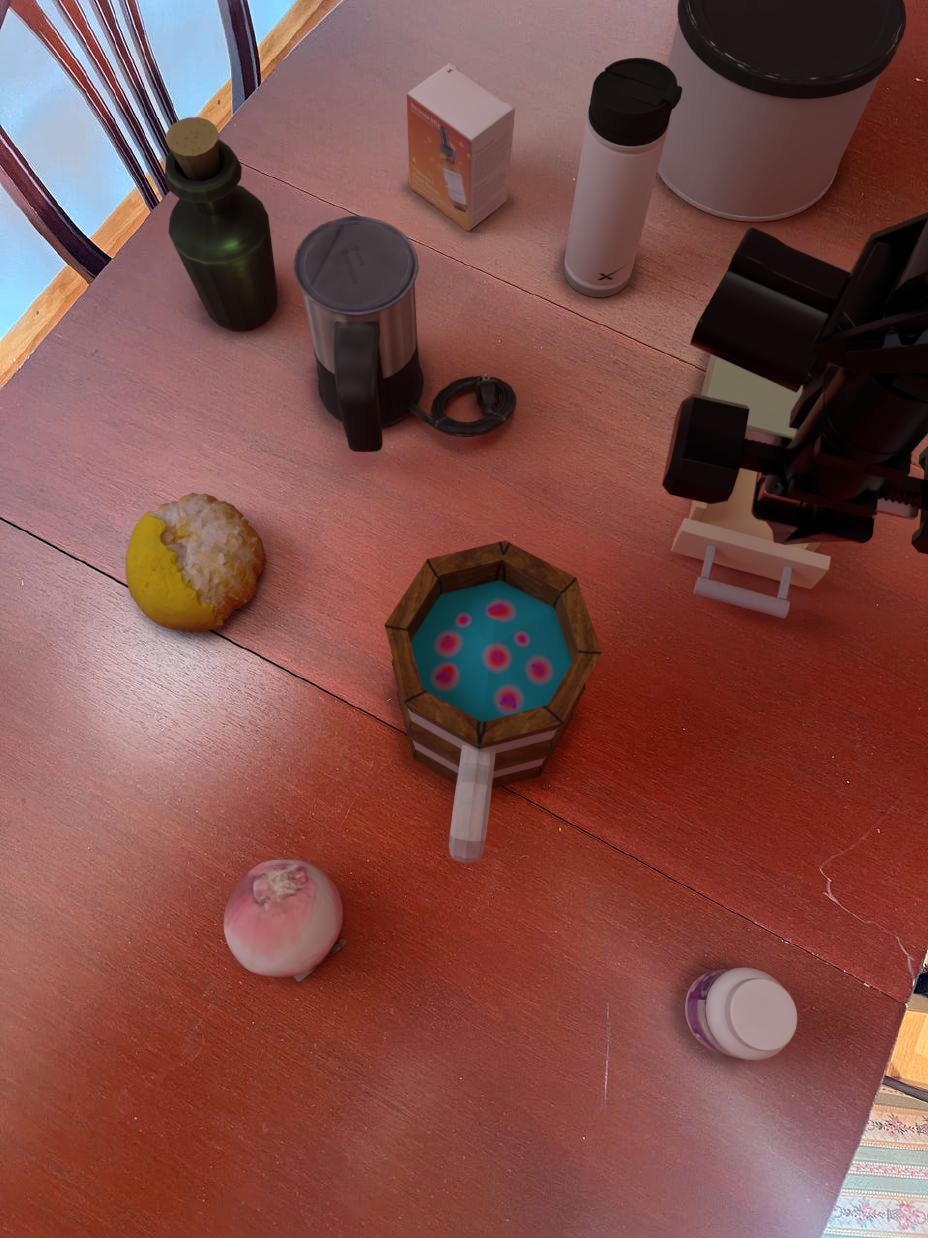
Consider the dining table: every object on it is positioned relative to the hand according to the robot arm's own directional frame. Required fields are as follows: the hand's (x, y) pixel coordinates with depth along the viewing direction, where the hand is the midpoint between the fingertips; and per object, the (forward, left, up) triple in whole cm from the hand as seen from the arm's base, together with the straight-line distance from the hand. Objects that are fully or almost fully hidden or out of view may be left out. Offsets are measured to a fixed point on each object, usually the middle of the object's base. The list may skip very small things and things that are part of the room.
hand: (779, 537), depth 65 cm
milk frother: (+30, -11, -12) cm, 34 cm away
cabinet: (0, -20, -12) cm, 23 cm away
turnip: (+25, +33, -12) cm, 43 cm away
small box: (+33, -34, -12) cm, 49 cm away
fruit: (+41, +10, -12) cm, 44 cm away
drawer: (0, -7, -11) cm, 13 cm away
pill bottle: (-5, +30, -12) cm, 33 cm away
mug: (+16, +17, -12) cm, 26 cm away
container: (+8, -48, -12) cm, 50 cm away
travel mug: (+18, -29, -12) cm, 36 cm away
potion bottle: (+48, -16, -12) cm, 52 cm away
